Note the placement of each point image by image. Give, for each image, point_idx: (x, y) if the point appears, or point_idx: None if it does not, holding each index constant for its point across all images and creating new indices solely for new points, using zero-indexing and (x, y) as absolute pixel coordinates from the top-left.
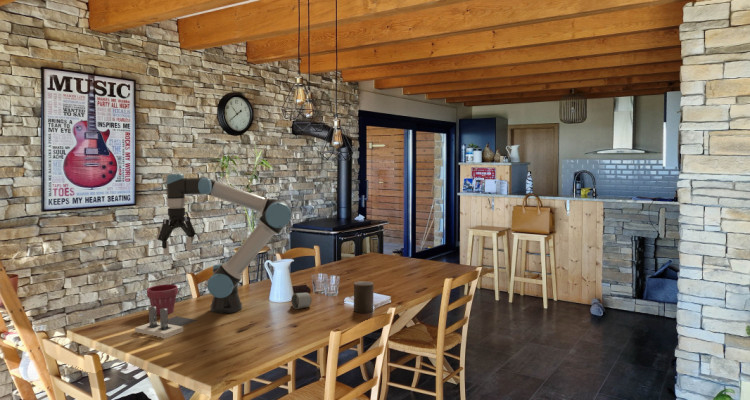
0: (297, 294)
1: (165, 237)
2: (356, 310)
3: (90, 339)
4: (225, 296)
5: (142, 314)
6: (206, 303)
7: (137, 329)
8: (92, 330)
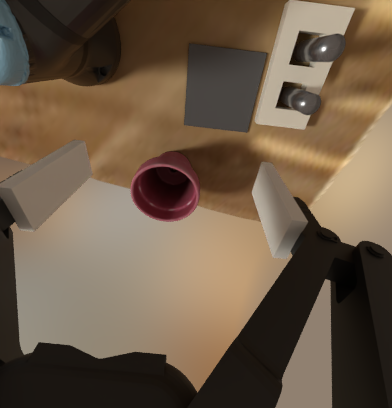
0: None
1: (330, 262)
2: None
3: (335, 176)
4: None
5: None
6: (80, 132)
7: (306, 121)
8: None
